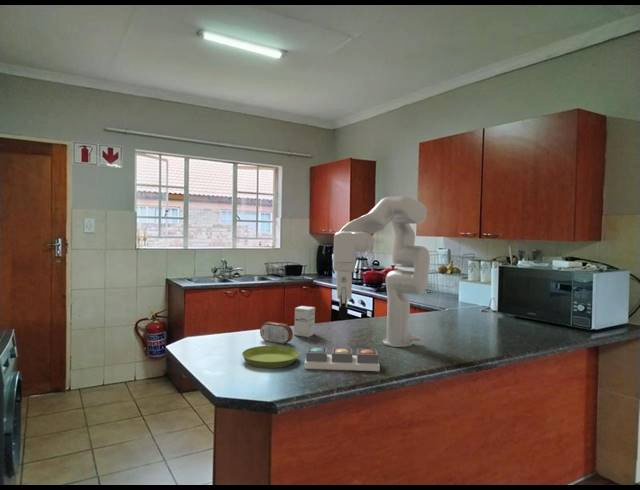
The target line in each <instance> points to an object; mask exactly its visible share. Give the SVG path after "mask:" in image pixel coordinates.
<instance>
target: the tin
mask: <svg viewBox="0 0 640 490" xmlns="http://www.w3.org/2000/svg"><path fill="white" fill-rule="evenodd" d="M293 332H294V331H293V329H292V328H291V325H290V326H289V325H288V324H287V323H282V322H274V321H267V322H264V323H263V324H262V325H261V326H260V328H259V334H260V337H261V339H262V340H263V341H265V342H268V343H274V344H281V345H286V344H288V343H289V342H291V340H292V339H293V337H294V333H293Z"/></svg>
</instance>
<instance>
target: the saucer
mask: <svg viewBox="0 0 640 490" xmlns="http://www.w3.org/2000/svg"><path fill="white" fill-rule="evenodd" d="M241 355H242V357H243V359H244V361H246V362H247V363H249V364H250V365H252V366H254V367H256V368H257V367H258V368H264V369H265V368H267V369H271V368H272V369H275V368H282V367H288V366H289V365H292V364H293V363H294V362H295V361H296V360H297V359H298V357H299V356H300V352H299V351H298V350H297V349H295V348H292V347H287V346H282V345H281V346H280V345H260V346H254V347H253V346H252V347H249V348H246V349H244V350H243V352H242V353H241Z"/></svg>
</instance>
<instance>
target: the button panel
mask: <svg viewBox="0 0 640 490" xmlns="http://www.w3.org/2000/svg"><path fill="white" fill-rule="evenodd" d="M312 348H317V347H316V346H315V347H313V346H311V347H309V346H308V347H307V348H306V355H305V360H304V364H303V365H304V368H303V369H308V370H310V369H311V370H313V369H314V370H334V371H335V370H336V371H337V370H339V371H340V370H341V371H364V372H365V371H366V372H367V371H368V372H369V371H370V372H380V370H381V369H380V368H381V365H380V361H379V353H378V349H376V348H375V349H374V348H373V349H372V348H371V349H369V348H356V354H355V355H353V348H342V347H332V348H331V354H328V347H320V348H321V349H324V353H318V352H310V349H312ZM336 349H347V350H349V354H348V353H335V350H336ZM361 350H372V351H374V354H360V351H361Z"/></svg>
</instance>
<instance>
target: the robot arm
mask: <svg viewBox="0 0 640 490" xmlns="http://www.w3.org/2000/svg"><path fill="white" fill-rule="evenodd" d="M427 216H428V211H427V207H426V206H425V205H424V203H423V202H420V201H419V200H417V199H414V198H412V197H410V196H406V195H403V196H402V195H401V196H399V195H397V196H385V197H383V198H381V199H380V200H379V202H377V203H376V205H375V206H374V207H373V208H371V210H370V211H369V212H368V213H366V214H364V215H362V216H360V217H358V218H356V219H353V220H351V221H349V222H347V223H346V224H345V225H344V226H343V227H342V228H341V229H340V230H339V231H337V232H335V233H334V234H333V235H334V236H333V267H332V268H333V269H332V270H333V271H334V272H336V295H337V299H338V300H339V306H338V319H348V315H349V313H348V311H349V307H348V299H349V301H350V300H352V299H353V298H352V297H353V295H352V289H353V288H352V286H353V285H352V284H353V282H352V280H353V276H352V272H355V268H356V267H355V263H356V262H355V261H356V260H355V255H356V253H366V252H368V251H370V250H371V249H372V248H373V245H374V239H373V237H372V234H375V233H378V232H381V231H383V230H384V229H385V228H386V227H387V225H388V224H389V223H391V226H392V227H393V230H394V243H393V250H392V258H391V259H392V264H393V265H394V266H396V267H398V268H406V269H414V271H413V270H412V271H411V270H402V269H401V270H400V269H395V270H394V269H393V270H390V271H389V272H388V273H387V274H386V276H385V288H386V293H387V294H386V295H387V304H386V305H387V306H386V309H387V311H386V337H385V338H382V339H383V340H382V344H383V345H385V346H387V347H388V346H389V347H393V348H408V347H411V346H413V344H414V342H413V341H419V342H420V341H421V336H419V335H416V334H415V335H413V334H412V335H411V334H410V318H411V315H410V314H411V313H410V312H411V310H410V307H411V304H410V300H409V297H408V296H407V295H418V296H419V295H420V296H421V295H423V294H424V293H425V291H426V289H427V286H428V278H429V270H430V262H431V257H430V256H431V254H430V252H429V251H430V250H429V249H428V248H427V247H425V246H422V245H415V241H416V234H415V230H414V229H413V228H412V226H411V225H412V224H417V225H420V224H422V223H425V221H426V219H427Z"/></svg>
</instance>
